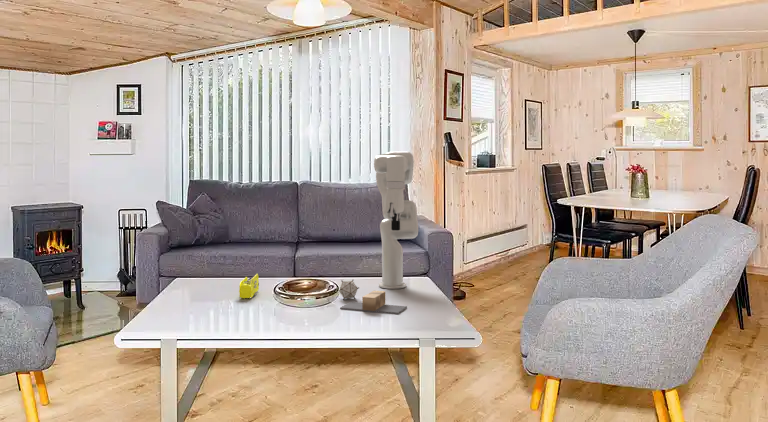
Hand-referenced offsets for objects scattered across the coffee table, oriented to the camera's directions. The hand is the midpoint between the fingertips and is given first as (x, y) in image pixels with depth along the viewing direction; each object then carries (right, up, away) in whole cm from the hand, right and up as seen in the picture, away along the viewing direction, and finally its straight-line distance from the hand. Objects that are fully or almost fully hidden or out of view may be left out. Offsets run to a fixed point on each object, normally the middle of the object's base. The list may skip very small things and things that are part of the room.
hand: (395, 230), depth 244 cm
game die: (-20, -29, +3) cm, 35 cm away
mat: (-9, -30, -13) cm, 34 cm away
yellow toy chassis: (-63, -29, +11) cm, 70 cm away
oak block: (-7, -27, -7) cm, 29 cm away
